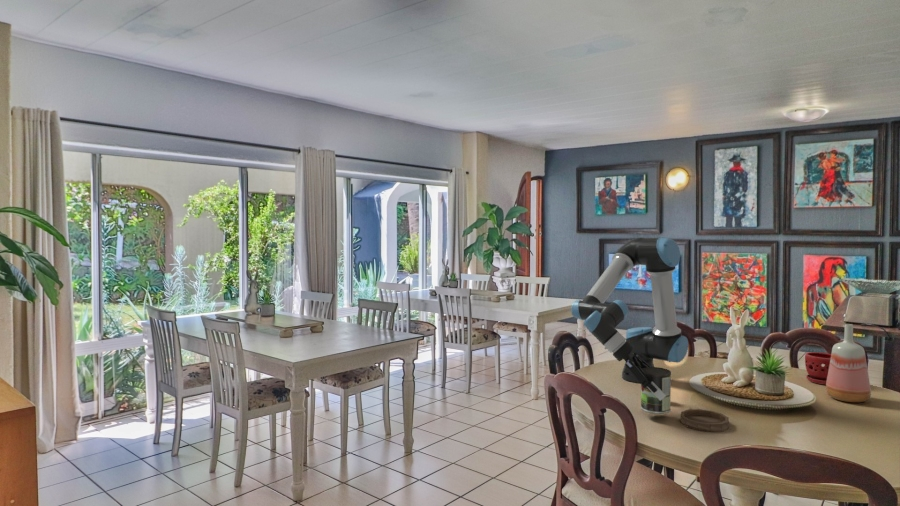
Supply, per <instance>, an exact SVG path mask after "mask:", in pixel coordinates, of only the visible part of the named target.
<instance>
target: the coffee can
mask: <svg viewBox="0 0 900 506" xmlns="http://www.w3.org/2000/svg"><path fill="white" fill-rule="evenodd" d="M642 370H643V371H644V372H645V374H646V375H647V377H648V378H649V379H650V380H651V382H652V381H653V382H654V383H655V384H656V385H657V386H658V388H659V389H660V390H661V391H662V392H663V393H664V394H665V395H666V397H664V398H663V399H662V400H661V401H660V400H659V399H658V398H657V397H656V396H655V395H654V394H653V393H652V392H651V391H650V390H649V389H648V388H647V387H645V388H644V387H643V385H642V384H641V383H640V409H641V410H642V411H644V412H646V413H651V414H654V415H655V414H657V415H658V414H659V415H663V414H668V413H670V412H671V391H672V389H671V388H672V387H671V386H672V385H671V383H672V382H671V378H672V377H671V376H672V371H671V370H670V369H667V368H664V367H658V366H654V367H646V368H642Z"/></svg>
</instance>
